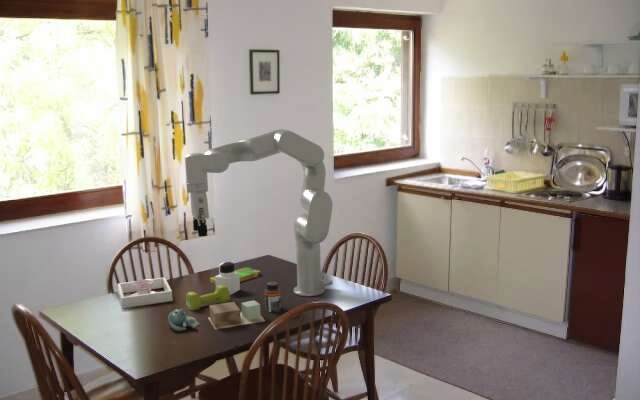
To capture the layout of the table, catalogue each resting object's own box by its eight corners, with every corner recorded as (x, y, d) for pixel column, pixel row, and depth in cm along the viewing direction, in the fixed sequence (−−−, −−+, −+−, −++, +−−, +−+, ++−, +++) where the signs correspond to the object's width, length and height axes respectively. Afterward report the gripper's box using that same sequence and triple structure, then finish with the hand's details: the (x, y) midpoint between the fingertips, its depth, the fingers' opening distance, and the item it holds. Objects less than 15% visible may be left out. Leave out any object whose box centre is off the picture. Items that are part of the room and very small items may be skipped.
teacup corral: (165, 286, 281) (164, 277, 280) (172, 300, 264) (171, 291, 263) (118, 293, 274) (117, 283, 274) (122, 308, 257) (121, 298, 256)
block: (254, 313, 245) (253, 300, 244) (260, 317, 241) (260, 304, 240) (242, 316, 242) (241, 303, 241) (247, 320, 238) (247, 307, 237)
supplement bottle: (265, 309, 251) (264, 280, 249) (281, 309, 252) (280, 280, 250) (265, 315, 246) (264, 286, 243) (281, 314, 246) (280, 285, 244)
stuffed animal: (189, 320, 229) (161, 309, 233) (187, 339, 231) (159, 328, 235) (207, 309, 238) (180, 299, 243) (205, 328, 240) (178, 317, 245)
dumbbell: (193, 315, 248) (192, 296, 247) (183, 309, 255) (182, 291, 253) (232, 305, 258) (231, 287, 256) (222, 299, 264) (221, 282, 263)
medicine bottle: (240, 289, 274) (238, 261, 272) (230, 295, 268) (229, 266, 266) (225, 287, 277) (223, 259, 275) (215, 293, 271) (214, 264, 269)
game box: (210, 284, 286) (247, 271, 300) (224, 289, 279) (261, 275, 293) (209, 277, 285) (246, 264, 299) (223, 282, 278) (261, 269, 292)
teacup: (143, 304, 261) (142, 289, 260) (122, 299, 267) (120, 284, 266) (165, 295, 271) (164, 280, 270) (144, 290, 277) (143, 276, 276)
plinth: (256, 312, 248) (255, 296, 247) (265, 324, 237) (264, 307, 236) (208, 320, 242) (207, 304, 241) (215, 332, 231) (214, 315, 230)
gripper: (212, 190, 238) (215, 237, 241) (203, 182, 254) (206, 226, 257) (191, 192, 235) (194, 239, 239) (183, 184, 251) (186, 229, 255)
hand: (200, 233), depth 248 cm, fingers open, 9 cm apart
